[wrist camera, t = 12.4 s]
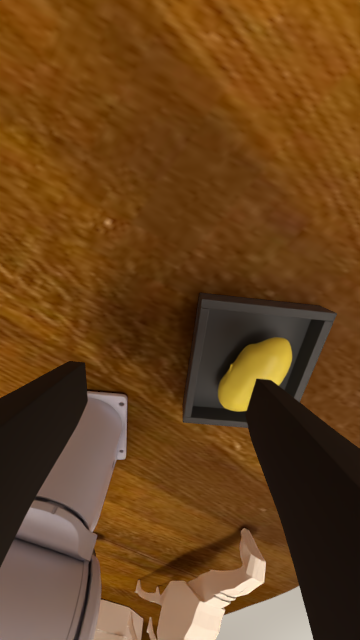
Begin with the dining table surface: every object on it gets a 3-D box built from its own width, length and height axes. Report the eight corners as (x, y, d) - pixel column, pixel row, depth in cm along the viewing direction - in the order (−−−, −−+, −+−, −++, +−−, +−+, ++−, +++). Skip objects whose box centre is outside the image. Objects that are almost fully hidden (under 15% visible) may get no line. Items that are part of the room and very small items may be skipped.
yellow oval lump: (201, 380, 19) (206, 412, 15) (261, 318, 17) (284, 339, 13) (233, 400, 20) (245, 435, 16) (294, 344, 18) (324, 371, 14)
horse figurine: (172, 518, 44) (272, 537, 28) (144, 659, 31) (292, 825, 16) (155, 510, 43) (248, 525, 27) (118, 652, 30) (251, 825, 15)
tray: (278, 414, 21) (287, 431, 19) (182, 406, 21) (182, 422, 19) (320, 305, 17) (337, 313, 15) (199, 292, 16) (201, 298, 15)
